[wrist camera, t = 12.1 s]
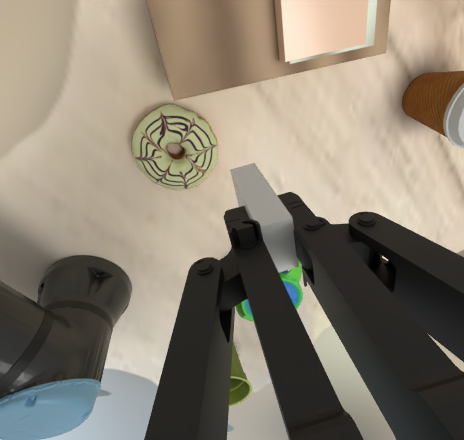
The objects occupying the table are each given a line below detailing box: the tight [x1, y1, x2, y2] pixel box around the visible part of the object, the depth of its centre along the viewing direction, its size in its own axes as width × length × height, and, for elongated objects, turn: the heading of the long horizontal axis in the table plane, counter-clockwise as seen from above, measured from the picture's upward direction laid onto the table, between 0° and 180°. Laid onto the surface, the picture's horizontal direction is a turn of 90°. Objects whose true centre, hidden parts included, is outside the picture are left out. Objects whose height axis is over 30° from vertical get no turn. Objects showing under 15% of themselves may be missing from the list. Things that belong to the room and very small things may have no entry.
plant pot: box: [229, 343, 252, 407], centre depth 63 cm, size 12×12×11 cm
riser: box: [146, 0, 391, 101], centre depth 32 cm, size 23×10×10 cm, turn 100°
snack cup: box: [236, 259, 303, 321], centre depth 52 cm, size 16×10×10 cm
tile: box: [274, 0, 368, 62], centre depth 27 cm, size 2×7×8 cm
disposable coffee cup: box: [403, 71, 464, 148], centre depth 39 cm, size 10×10×12 cm
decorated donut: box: [132, 104, 218, 190], centre depth 41 cm, size 11×12×4 cm
